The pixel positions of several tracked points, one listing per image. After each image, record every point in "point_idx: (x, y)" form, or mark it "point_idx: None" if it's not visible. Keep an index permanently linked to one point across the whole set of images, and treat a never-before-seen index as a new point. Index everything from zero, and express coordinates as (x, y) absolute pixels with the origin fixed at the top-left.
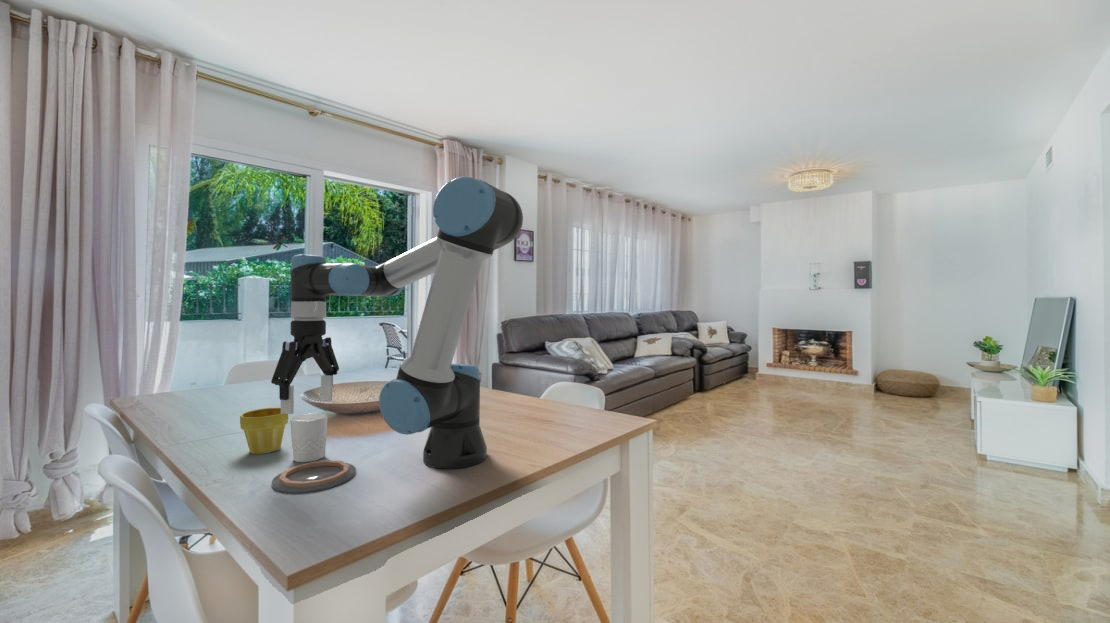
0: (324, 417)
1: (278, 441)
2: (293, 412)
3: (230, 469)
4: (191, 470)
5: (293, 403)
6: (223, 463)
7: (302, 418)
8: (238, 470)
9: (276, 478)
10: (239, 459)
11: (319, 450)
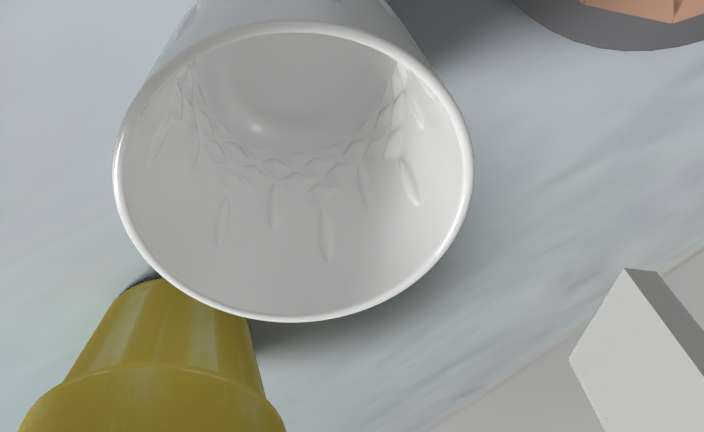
0: (321, 21)
1: (175, 305)
2: (628, 274)
3: (450, 306)
4: (440, 407)
5: (691, 354)
6: (370, 366)
7: (212, 269)
8: (468, 273)
9: (692, 28)
10: (321, 344)
11: None
